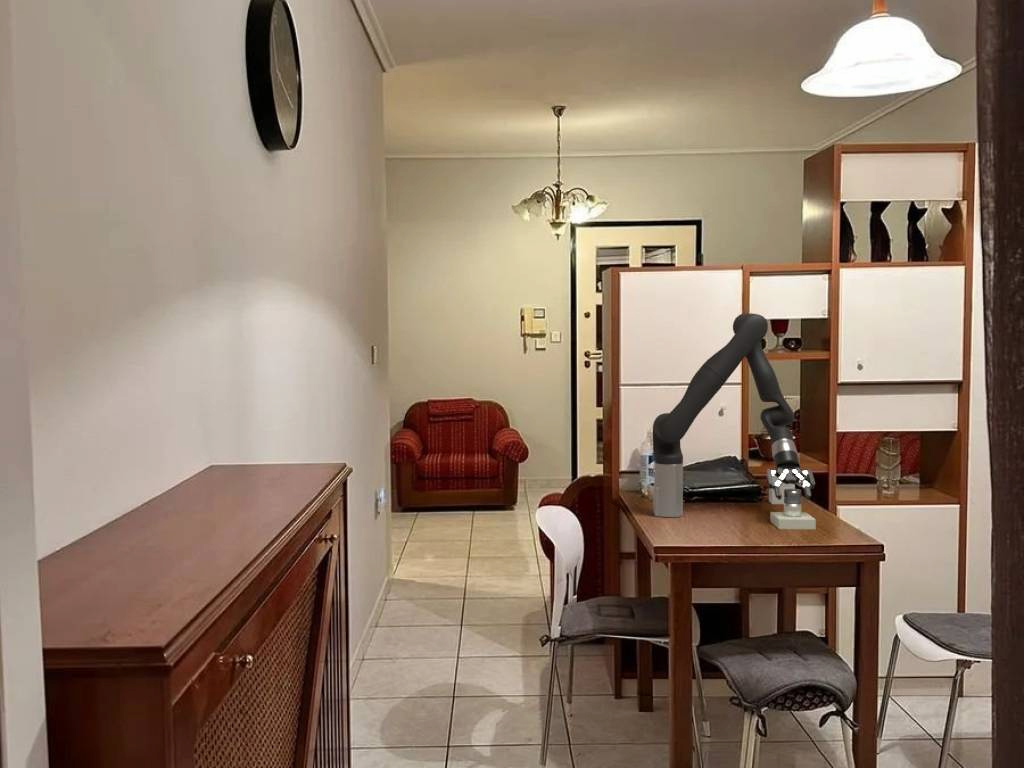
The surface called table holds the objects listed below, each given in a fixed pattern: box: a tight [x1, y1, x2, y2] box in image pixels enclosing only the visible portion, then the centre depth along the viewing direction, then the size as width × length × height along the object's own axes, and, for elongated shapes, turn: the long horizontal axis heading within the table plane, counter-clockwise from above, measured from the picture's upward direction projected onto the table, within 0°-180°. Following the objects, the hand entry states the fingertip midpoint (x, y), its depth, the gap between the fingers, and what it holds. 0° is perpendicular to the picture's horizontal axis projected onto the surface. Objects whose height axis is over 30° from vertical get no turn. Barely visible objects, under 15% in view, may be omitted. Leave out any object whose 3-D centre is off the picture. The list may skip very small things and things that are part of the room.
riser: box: [769, 511, 817, 530], centre depth 281 cm, size 11×11×3 cm
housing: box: [783, 488, 803, 517], centre depth 281 cm, size 5×5×8 cm
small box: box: [768, 475, 796, 505], centre depth 317 cm, size 8×6×10 cm
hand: (794, 498), depth 279 cm, fingers open, 8 cm apart
